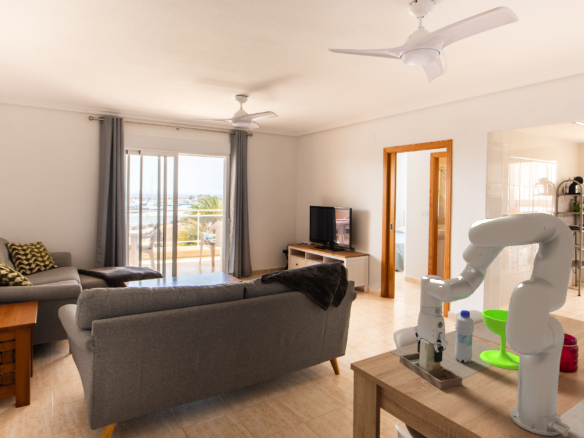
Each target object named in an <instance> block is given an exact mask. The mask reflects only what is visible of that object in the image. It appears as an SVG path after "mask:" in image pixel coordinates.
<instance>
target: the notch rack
mask: <svg viewBox="0 0 584 438" xmlns="http://www.w3.org/2000/svg"><path fill="white" fill-rule="evenodd" d="M415 359H420V353H418V352H414V353H408V354H402V355H399V363H400V364H402V365H403V366H405V367H406V368H408V369H409V370H410V371H412V372H414V373H415V374H417V375H418V376H419V377H421V378H422V379H424V380H425V381H427V382H428V383H430V384H431V385H433V386H434V387H436V388H438V390H444V389H448V388H453V387H458V386H463V377H462V376H460V375H459V374H456V373H455V372H453V370H451V369H448V368H446V367H445V366H444V365H441V364H440V369H437V370H432V371H425V370H423V369H421V368H420V367H419V362H417V363H412V362H411V361H409V360H415ZM441 377H447V378H448V377H449V378H448V379H442V380H440V379H438V378H441ZM450 378H451V379H450Z"/></svg>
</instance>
